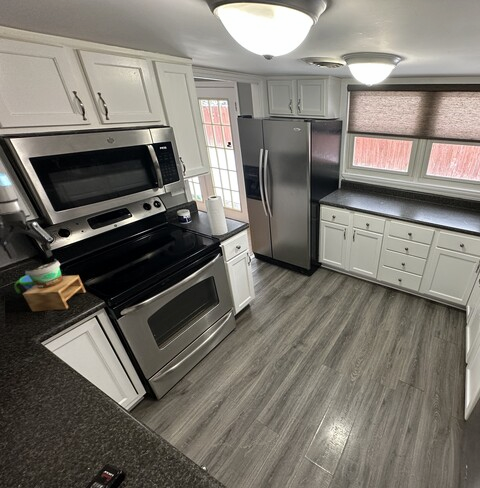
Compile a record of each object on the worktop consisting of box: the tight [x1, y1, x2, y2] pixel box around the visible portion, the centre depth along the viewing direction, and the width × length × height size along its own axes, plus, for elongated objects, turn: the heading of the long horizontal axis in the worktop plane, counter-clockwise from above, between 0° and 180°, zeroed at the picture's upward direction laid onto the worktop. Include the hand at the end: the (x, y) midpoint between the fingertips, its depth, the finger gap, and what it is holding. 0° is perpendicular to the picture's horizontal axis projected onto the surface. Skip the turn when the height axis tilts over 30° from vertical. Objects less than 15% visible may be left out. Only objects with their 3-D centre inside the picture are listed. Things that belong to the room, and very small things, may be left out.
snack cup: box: [14, 274, 35, 294], centre depth 132 cm, size 16×10×10 cm
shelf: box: [22, 274, 87, 312], centre depth 127 cm, size 14×14×10 cm
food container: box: [24, 258, 63, 288], centre depth 123 cm, size 12×6×10 cm, turn 165°
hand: (31, 256), depth 117 cm, fingers open, 13 cm apart
